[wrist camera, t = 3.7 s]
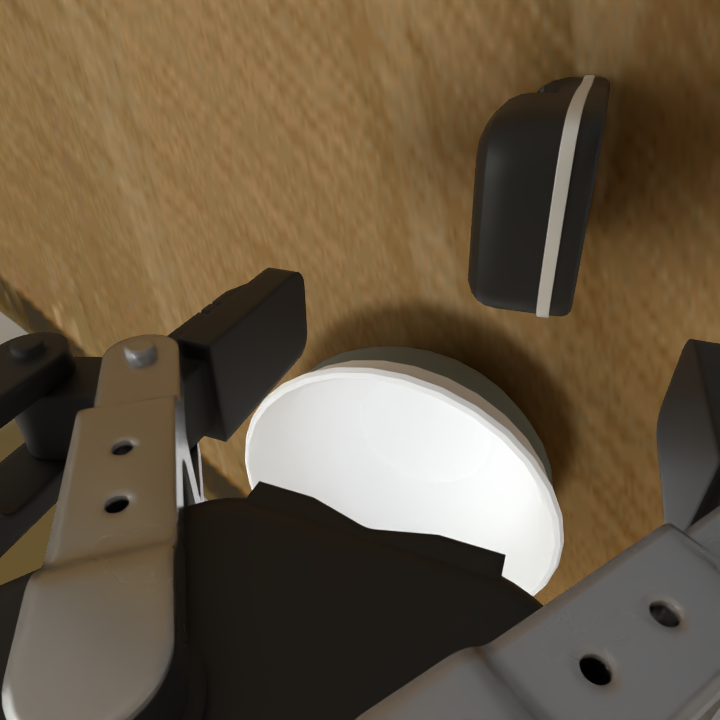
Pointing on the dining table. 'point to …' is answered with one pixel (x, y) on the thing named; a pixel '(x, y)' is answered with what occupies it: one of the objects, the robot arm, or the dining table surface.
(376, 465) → the bowl
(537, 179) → the battery charger
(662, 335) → the dining table surface
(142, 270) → the dining table surface
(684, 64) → the dining table surface
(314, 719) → the robot arm
